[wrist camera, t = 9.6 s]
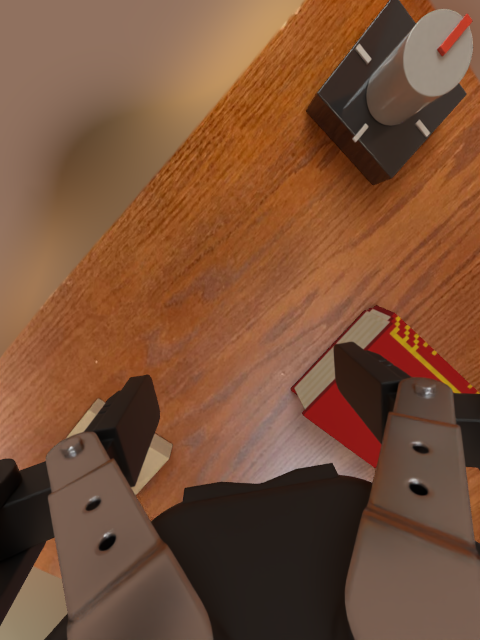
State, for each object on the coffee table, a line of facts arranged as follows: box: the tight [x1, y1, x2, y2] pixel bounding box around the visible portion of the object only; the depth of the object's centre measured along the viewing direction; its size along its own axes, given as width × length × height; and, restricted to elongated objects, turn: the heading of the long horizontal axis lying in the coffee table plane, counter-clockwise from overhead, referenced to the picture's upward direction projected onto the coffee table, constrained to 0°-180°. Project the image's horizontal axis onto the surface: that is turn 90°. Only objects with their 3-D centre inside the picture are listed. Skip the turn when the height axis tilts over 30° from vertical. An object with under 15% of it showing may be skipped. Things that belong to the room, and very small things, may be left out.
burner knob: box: [366, 9, 473, 126], centre depth 19 cm, size 4×4×5 cm
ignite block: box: [67, 398, 172, 495], centre depth 30 cm, size 10×9×4 cm
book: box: [291, 306, 480, 468], centre depth 29 cm, size 18×13×5 cm
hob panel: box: [306, 0, 466, 185], centre depth 22 cm, size 9×9×3 cm
